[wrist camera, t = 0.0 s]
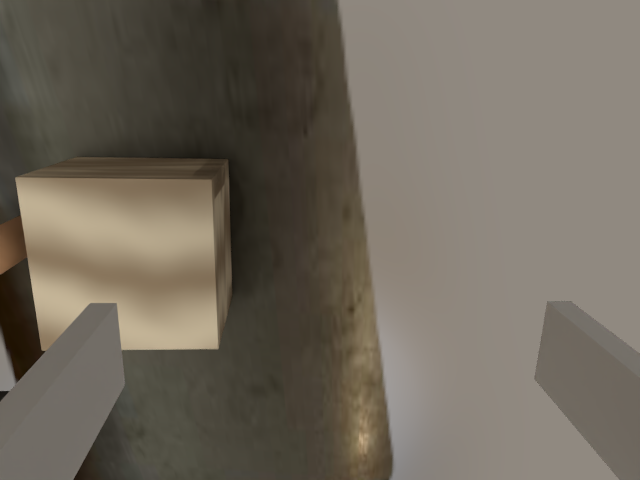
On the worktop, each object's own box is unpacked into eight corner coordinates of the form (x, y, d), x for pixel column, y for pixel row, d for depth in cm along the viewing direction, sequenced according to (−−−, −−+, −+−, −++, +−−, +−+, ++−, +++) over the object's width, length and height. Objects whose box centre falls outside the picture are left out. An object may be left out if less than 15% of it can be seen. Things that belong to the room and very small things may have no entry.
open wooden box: (76, 156, 40) (15, 177, 31) (228, 159, 41) (211, 179, 32) (92, 295, 44) (41, 350, 35) (232, 295, 45) (218, 348, 35)
